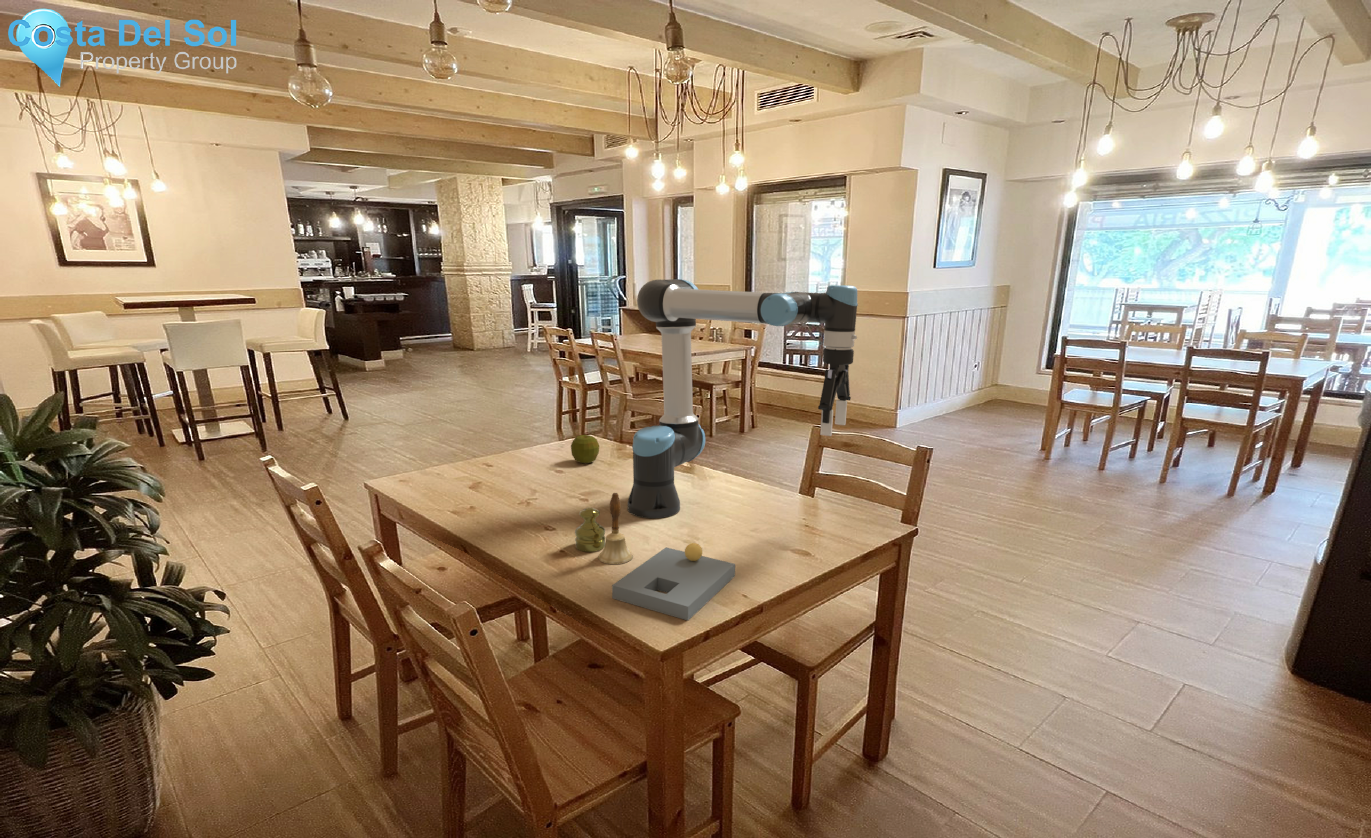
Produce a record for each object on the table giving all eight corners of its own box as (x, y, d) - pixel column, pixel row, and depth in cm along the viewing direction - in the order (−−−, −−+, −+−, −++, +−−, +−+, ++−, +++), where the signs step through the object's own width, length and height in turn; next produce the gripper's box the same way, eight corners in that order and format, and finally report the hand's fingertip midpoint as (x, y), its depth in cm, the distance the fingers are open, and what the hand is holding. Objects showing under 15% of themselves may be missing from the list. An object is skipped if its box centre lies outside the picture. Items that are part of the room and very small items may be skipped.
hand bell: (599, 550, 158) (597, 488, 155) (633, 549, 159) (632, 487, 156) (597, 565, 150) (595, 500, 147) (633, 564, 151) (632, 499, 148)
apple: (567, 465, 228) (566, 435, 226) (576, 458, 237) (575, 428, 235) (594, 467, 226) (594, 436, 224) (602, 459, 236) (602, 430, 233)
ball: (681, 561, 146) (681, 545, 145) (689, 555, 149) (690, 538, 148) (697, 565, 144) (697, 548, 143) (705, 558, 147) (705, 542, 146)
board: (612, 598, 135) (612, 585, 134) (666, 559, 154) (666, 547, 153) (688, 620, 127) (688, 606, 126) (734, 576, 145) (735, 563, 145)
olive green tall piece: (592, 555, 156) (591, 516, 154) (569, 548, 160) (567, 510, 157) (611, 544, 162) (610, 506, 160) (588, 538, 166) (587, 501, 163)
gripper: (840, 353, 150) (834, 442, 155) (865, 344, 172) (859, 421, 177) (809, 351, 154) (804, 438, 158) (837, 342, 175) (832, 418, 180)
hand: (833, 429), depth 167 cm, fingers open, 13 cm apart
